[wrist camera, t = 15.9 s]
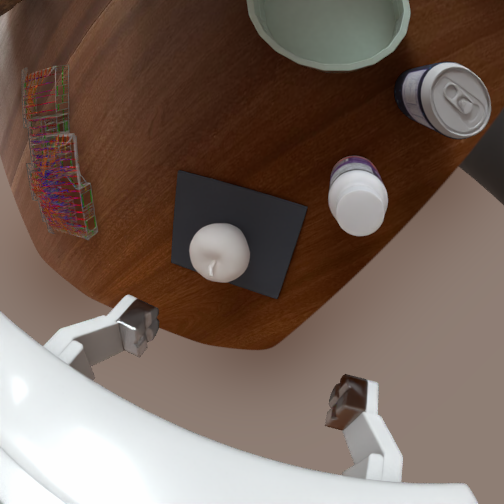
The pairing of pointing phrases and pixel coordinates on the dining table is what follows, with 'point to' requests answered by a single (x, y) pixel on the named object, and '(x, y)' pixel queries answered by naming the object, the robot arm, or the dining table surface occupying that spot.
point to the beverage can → (444, 99)
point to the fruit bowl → (331, 31)
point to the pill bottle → (357, 196)
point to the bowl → (7, 5)
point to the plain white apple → (219, 252)
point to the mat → (243, 217)
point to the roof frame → (56, 172)
